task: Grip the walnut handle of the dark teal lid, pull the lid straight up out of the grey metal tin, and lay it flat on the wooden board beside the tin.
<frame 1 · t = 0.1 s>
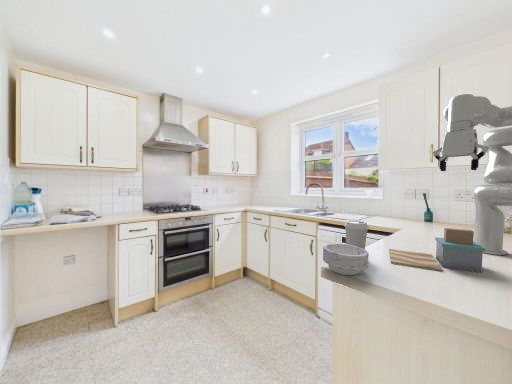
hand: (457, 170, 90), 37 cm above the counter, tool pointing down, fingers open, 9 cm apart
lid: (457, 248, 87), point 6 cm above the counter, touching tin
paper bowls: (344, 270, 81), on the counter
coffee cup: (355, 257, 96), on the counter
tin: (456, 265, 88), on the counter
wooden board: (412, 259, 94), on the counter
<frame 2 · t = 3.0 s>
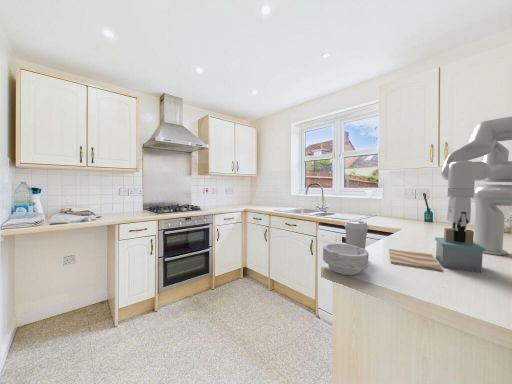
hand: (458, 240, 87), 10 cm above the counter, tool pointing down, fingers closed on lid, 3 cm apart
lid: (457, 248, 87), point 7 cm above the counter, touching gripper
everything else where it was.
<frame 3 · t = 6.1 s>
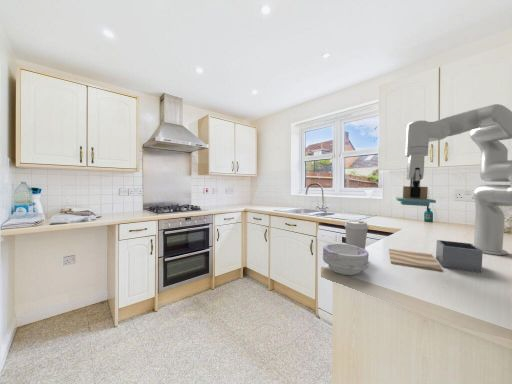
hand: (414, 196, 93), 26 cm above the counter, tool pointing down, fingers closed on lid, 3 cm apart
lid: (414, 204, 93), point 23 cm above the counter, touching gripper
everything else where it was.
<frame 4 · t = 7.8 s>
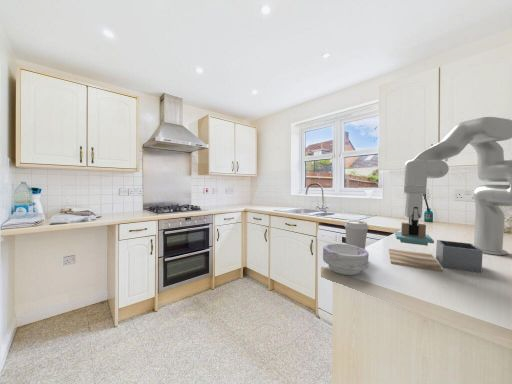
hand: (412, 233, 93), 11 cm above the counter, tool pointing down, fingers closed on lid, 3 cm apart
lid: (412, 241, 93), point 7 cm above the counter, touching gripper
everything else where it was.
when the fingers open (6 cm above the counter, at t = 9.1 s): lid drops 1 cm, resting on wooden board.
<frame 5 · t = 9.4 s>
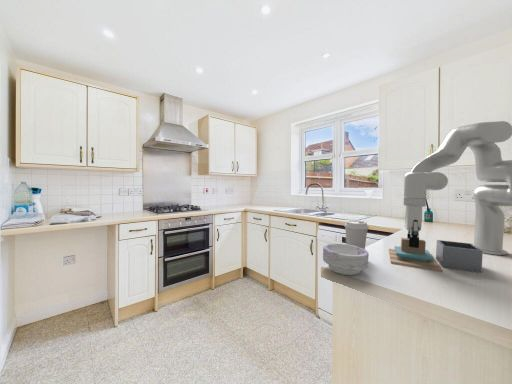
hand: (412, 244, 94), 6 cm above the counter, tool pointing down, fingers open, 6 cm apart
lid: (412, 257, 94), point 1 cm above the counter, touching wooden board
everything else where it was.
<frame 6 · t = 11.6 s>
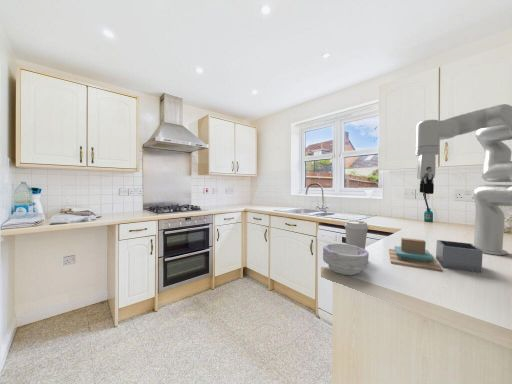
hand: (426, 193, 93), 28 cm above the counter, tool pointing down, fingers open, 9 cm apart
nothing on the counter moved.
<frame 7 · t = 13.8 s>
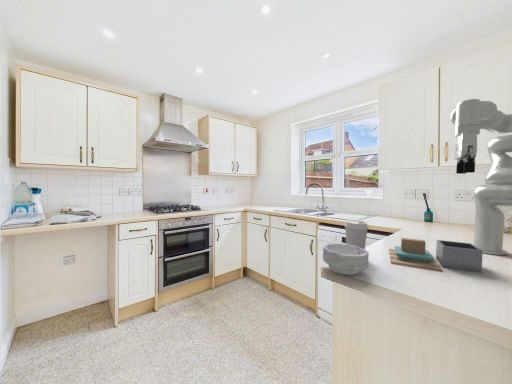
hand: (464, 173, 93), 36 cm above the counter, tool pointing down, fingers open, 9 cm apart
nothing on the counter moved.
at the end: lid inside the target area on the wooden board (0.0 cm from its centre), point 0.8 cm above the wooden board's base; lid tilted 0°; the gripper is holding nothing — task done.
